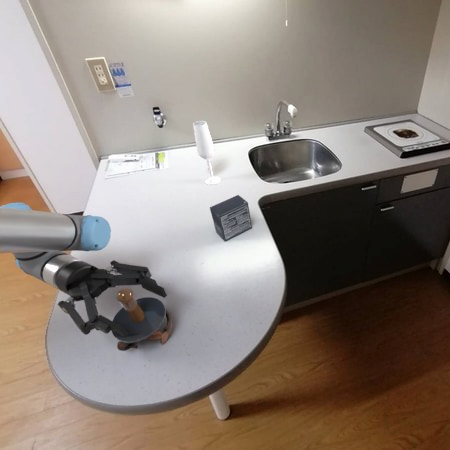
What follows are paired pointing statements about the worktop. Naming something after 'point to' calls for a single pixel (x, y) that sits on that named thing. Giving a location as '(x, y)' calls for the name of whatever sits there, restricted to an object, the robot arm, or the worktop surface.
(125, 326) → the lid
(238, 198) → the small box
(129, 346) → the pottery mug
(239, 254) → the worktop surface
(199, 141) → the champagne flute
